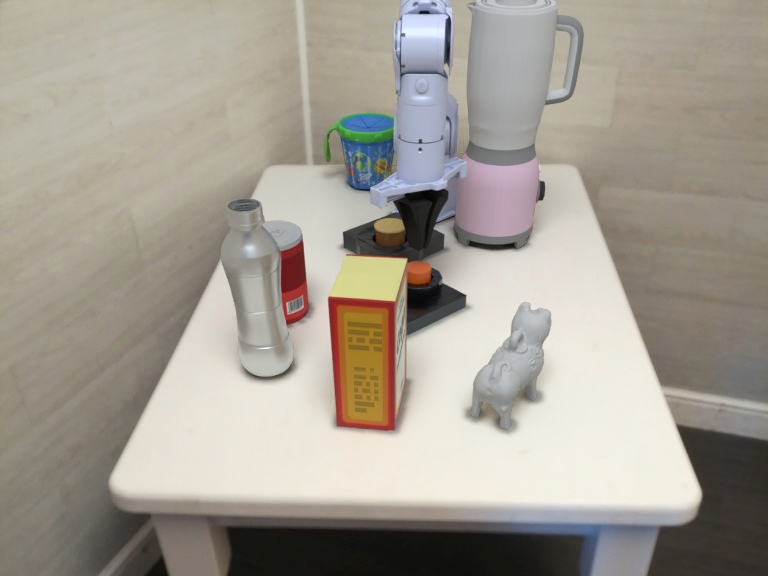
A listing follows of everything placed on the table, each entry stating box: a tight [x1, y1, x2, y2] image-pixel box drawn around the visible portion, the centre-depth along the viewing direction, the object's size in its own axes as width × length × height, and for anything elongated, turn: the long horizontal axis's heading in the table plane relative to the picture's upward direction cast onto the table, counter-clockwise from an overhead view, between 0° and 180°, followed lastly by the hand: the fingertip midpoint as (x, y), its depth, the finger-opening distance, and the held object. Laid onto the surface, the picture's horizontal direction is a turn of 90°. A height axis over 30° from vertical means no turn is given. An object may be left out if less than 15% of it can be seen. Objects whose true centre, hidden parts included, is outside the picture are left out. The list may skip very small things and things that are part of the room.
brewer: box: [407, 266, 467, 337], centre depth 98 cm, size 11×10×4 cm
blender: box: [453, 0, 585, 249], centre depth 103 cm, size 16×12×32 cm
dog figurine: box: [470, 301, 552, 430], centre depth 80 cm, size 5×13×11 cm, turn 148°
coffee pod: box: [374, 218, 405, 246], centre depth 109 cm, size 5×5×4 cm
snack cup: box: [323, 112, 395, 190], centre depth 126 cm, size 16×10×10 cm
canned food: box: [263, 220, 310, 326], centre depth 94 cm, size 8×8×11 cm
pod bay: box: [342, 212, 445, 263], centre depth 110 cm, size 12×12×2 cm
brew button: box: [407, 260, 432, 284], centre depth 97 cm, size 4×4×2 cm
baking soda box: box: [327, 253, 408, 432], centre depth 78 cm, size 10×6×16 cm
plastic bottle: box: [219, 197, 295, 378], centre depth 82 cm, size 6×7×20 cm
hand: (418, 246), depth 95 cm, fingers closed
